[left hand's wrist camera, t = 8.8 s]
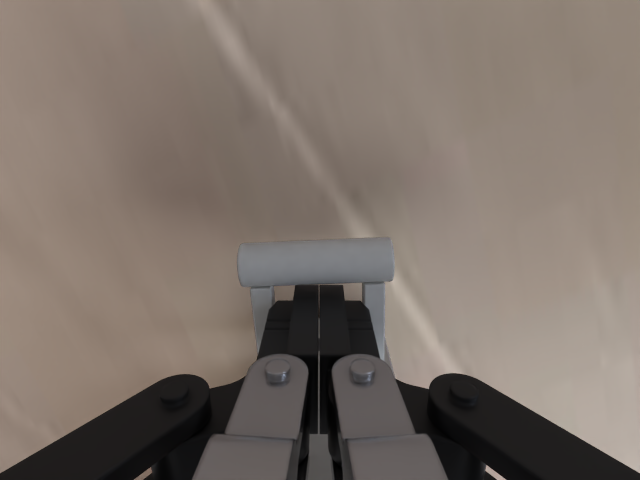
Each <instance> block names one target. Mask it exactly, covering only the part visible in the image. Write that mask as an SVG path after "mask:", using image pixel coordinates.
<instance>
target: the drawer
mask: <svg viewBox="0 0 640 480" xmlns="http://www.w3.org/2000/svg"><path fill="white" fill-rule="evenodd" d="M394 265H395V264H394V250H393V244H392V241H391V238H390V237H375V238H352V239H328V240H305V241H281V242H258V243H242V244H241V245H240V246H239V250H238V256H237V269H238V277H239V281H240V284H241V286H243V287H251V289H250V294H251V303H252V311H253V319H254V327H255V336H256V344H257V352H258V353H259V349H260V345H261V340H262V336H263V332H264V328H265V324H266V321H267V315H268V311H269V309H270V308H271V307H272V306H273V305H274V304H275V294H274V286H285V285H310V284H335V283H360V282H362V303H363V304H364V305H365V306H366V307H367V308H368V309H369V311H370V316H371V322H372V325H373V330H374V333H375V338H376V342H377V346H378V351H379V355H380V359H382V360H383V361H385V362H386V363H387V364H388V365H389V366H390V368H391V369H392V372H393V374H394V371H393V367H392V363H391V359H390V355H389V351H388V347H387V343H386V339H385V283H384V282H385V281H392V280H393V277H394ZM394 377H395V375H394ZM308 480H332V472H331V455H330V453H329V450H328V434H320V319H319V365H318V434H310V440H309V473H308Z"/></svg>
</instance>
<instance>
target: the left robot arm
mask: <svg viewBox="0 0 640 480" xmlns="http://www.w3.org/2000/svg"><path fill="white" fill-rule="evenodd" d="M318 365H319V285H295V291H294V298H293V301H277V302H276V303H275V304H274V305H273V306H272V307H271V308H270V309H269V311H268V315H267V321H266V324H265V328H264V332H263V336H262V340H261V345H260V349H259V353H258V357H257V361H255V362H254V363H253V364H252V365H251V366H250V368H249V370H248V372H247V374H246V376H245V377H244V378H242V379H240V380H238V381H236V382H234V383H231V384H228V385H224V386H219V387H215V388H211V389H209V386H208V384H207V382H206V381H205V380H204V379H203V378H201V377H199V376H196V375H190V374H182V375H175V376H171V377H167V378H165V379H162V380H160V381H158V382H157V383H155V384H153V385H151V386H150V387H148V388H146V389H145V390H143V391H141V392H139V393H138V394H136V395H134V396H133V397H131V398H129V399H127V400H126V401H124V402H122V403H120V404H119V405H117V406H115V407H114V408H112V409H110V410H108V411H107V412H105V413H103V414H102V415H100V416H98V417H96V418H95V419H93V420H91V421H90V422H88V423H86V424H84V425H83V426H81V427H79V428H78V429H76V430H74V431H72V432H71V433H69V434H67V435H65V436H64V437H62V438H60V439H59V440H57V441H55V442H53V443H52V444H50V445H48V446H47V447H45V448H43V449H41V450H40V451H38V452H36V453H35V454H33V455H31V456H29V457H28V458H26V459H24V460H22V461H21V462H19V463H17V464H16V465H14V466H12V467H10V468H9V469H7V470H5V471H4V472H2V473H0V480H134V479H135V478H136V477H138V476H139V475H140V474H142V473H143V472H144V471H146V470H147V469H148V468H150V467H151V469H152V473H151V474H150V475H149V476H147V477H146V478H145V479H143V480H308V473H309V440H310V434H318ZM320 434H328V450H329V453H330V455H331V472H332V480H497V479H495V478H494V477H493V476H491V475H490V474H489V473H487V472H486V471H485V469H486V465H488V466H489V467H490V468H492V469H493V470H494V471H496V472H497V473H498V474H500V475H501V476H502V477H504V478H505V479H506V480H640V473H638V472H636V471H635V470H633V469H631V468H630V467H628V466H626V465H624V464H623V463H621V462H619V461H618V460H616V459H614V458H612V457H611V456H609V455H607V454H606V453H604V452H602V451H600V450H599V449H597V448H595V447H593V446H592V445H590V444H588V443H587V442H585V441H583V440H581V439H580V438H578V437H576V436H575V435H573V434H571V433H569V432H568V431H566V430H564V429H563V428H561V427H559V426H557V425H556V424H554V423H552V422H551V421H549V420H547V419H545V418H544V417H542V416H540V415H538V414H537V413H535V412H533V411H532V410H530V409H528V408H526V407H525V406H523V405H521V404H520V403H518V402H516V401H514V400H513V399H511V398H509V397H508V396H506V395H504V394H502V393H501V392H499V391H497V390H496V389H494V388H492V387H490V386H489V385H487V384H485V383H484V382H482V381H480V380H478V379H476V378H473V377H471V376H467V375H463V374H456V373H450V374H443V375H440V376H438V377H436V378H435V379H434V380H433V381H432V382H431V384H430V387H429V389H426V388H421V387H417V386H413V385H409V384H406V383H403V382H401V381H399V380H397V379H395V377H394V374H393V372H392V369H391V368H390V366H389V365H388V364H387V363H386V362H385V361H383V360H382V359H380V355H379V351H378V346H377V342H376V338H375V333H374V330H373V325H372V322H371V316H370V311H369V309H368V308H367V307H366V306H365V305H364V304H363V303H362V302H361V301H345V299H344V291H343V285H320Z"/></svg>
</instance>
